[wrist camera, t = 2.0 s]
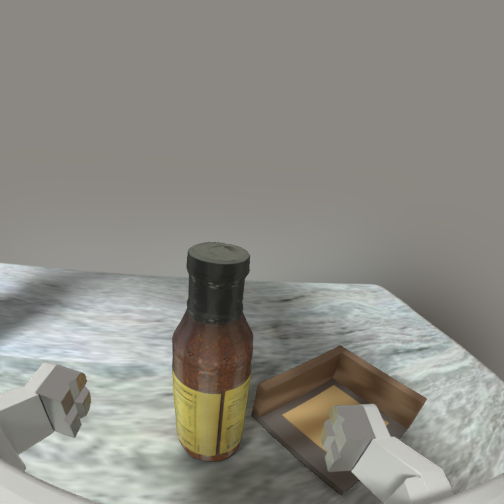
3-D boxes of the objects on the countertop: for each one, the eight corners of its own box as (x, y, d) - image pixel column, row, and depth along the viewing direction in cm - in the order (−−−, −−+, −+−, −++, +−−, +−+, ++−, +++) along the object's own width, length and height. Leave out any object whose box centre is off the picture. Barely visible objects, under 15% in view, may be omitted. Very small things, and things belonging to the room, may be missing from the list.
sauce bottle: (231, 416, 30) (259, 238, 24) (247, 460, 24) (292, 269, 18) (170, 420, 28) (172, 233, 22) (178, 468, 22) (179, 267, 16)
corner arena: (251, 415, 31) (258, 383, 29) (330, 374, 39) (340, 345, 37) (341, 495, 21) (362, 468, 19) (408, 427, 29) (427, 398, 28)
